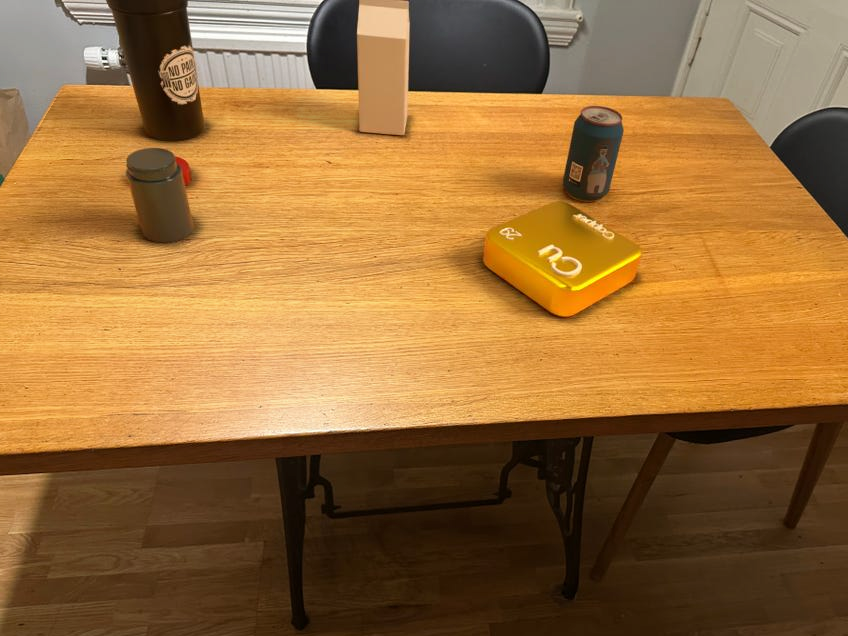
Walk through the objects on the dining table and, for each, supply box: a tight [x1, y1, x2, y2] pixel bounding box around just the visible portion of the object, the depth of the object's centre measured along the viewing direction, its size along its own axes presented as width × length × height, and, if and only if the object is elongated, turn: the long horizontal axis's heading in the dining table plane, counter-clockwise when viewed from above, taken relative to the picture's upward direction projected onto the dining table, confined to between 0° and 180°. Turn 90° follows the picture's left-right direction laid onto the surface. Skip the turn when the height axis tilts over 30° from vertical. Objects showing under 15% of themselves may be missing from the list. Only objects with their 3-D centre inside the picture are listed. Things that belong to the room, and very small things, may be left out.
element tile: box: [482, 200, 643, 318], centre depth 87 cm, size 15×15×5 cm
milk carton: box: [356, 0, 411, 136], centre depth 107 cm, size 7×7×19 cm
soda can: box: [562, 105, 625, 203], centre depth 99 cm, size 7×7×12 cm
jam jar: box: [125, 147, 195, 244], centre depth 83 cm, size 6×6×10 cm
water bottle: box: [105, 0, 206, 142], centre depth 98 cm, size 10×10×23 cm
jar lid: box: [175, 156, 192, 187], centre depth 94 cm, size 6×6×2 cm
